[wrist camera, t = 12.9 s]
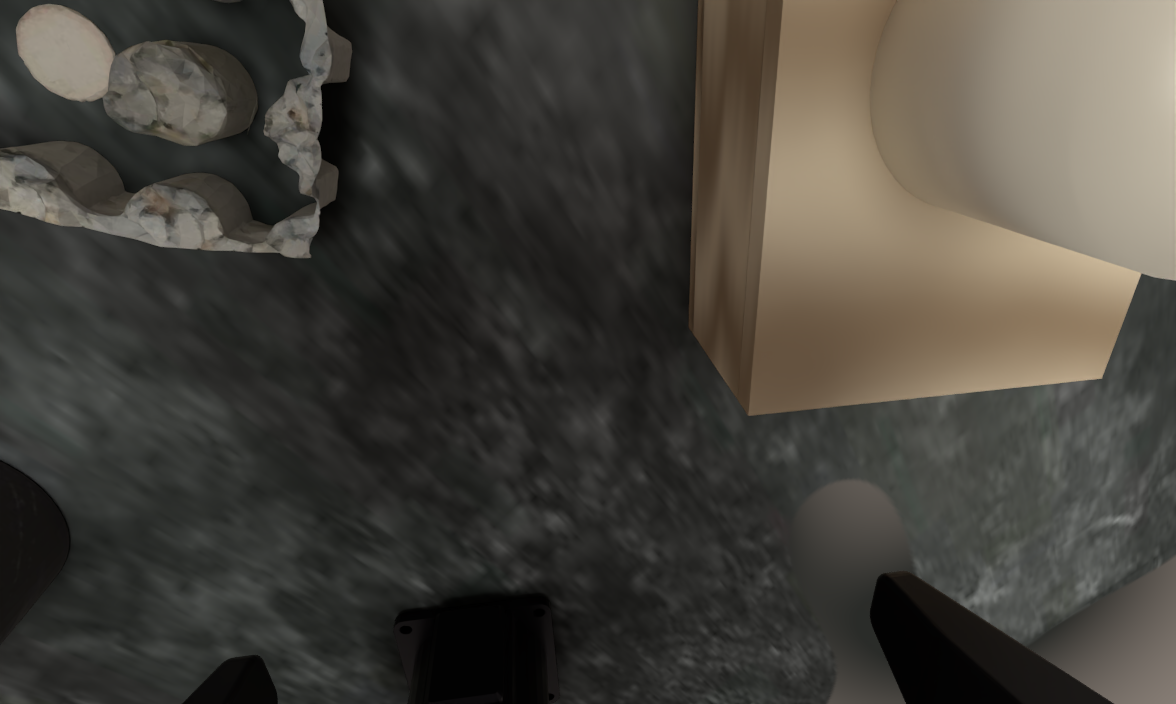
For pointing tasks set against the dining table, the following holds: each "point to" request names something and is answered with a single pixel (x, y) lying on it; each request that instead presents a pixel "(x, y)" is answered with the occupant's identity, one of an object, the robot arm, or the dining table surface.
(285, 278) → the dining table surface
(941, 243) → the box lid
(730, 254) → the storage box
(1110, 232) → the beige tapered cylinder
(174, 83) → the egg carton
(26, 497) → the travel mug
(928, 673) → the robot arm
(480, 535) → the dining table surface
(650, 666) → the dining table surface
